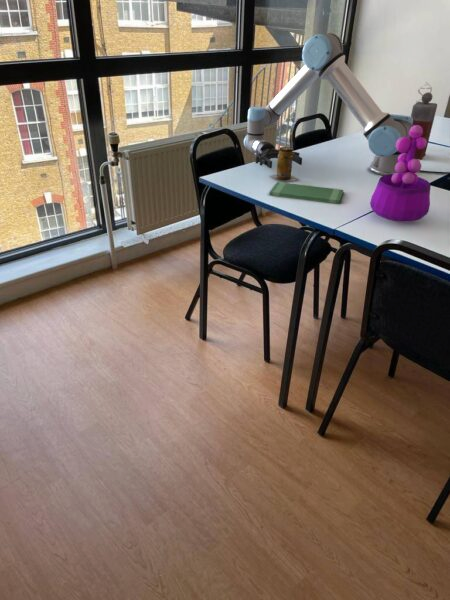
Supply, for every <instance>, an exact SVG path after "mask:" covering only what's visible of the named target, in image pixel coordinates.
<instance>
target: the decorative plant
mask: <svg viewBox="0 0 450 600" xmlns="http://www.w3.org/2000/svg"><path fill="white" fill-rule="evenodd" d="M422 130H423V129H422V127H421V126H419V125H414V126H413V127H412V128H411V129H410V130H409V134H410V136H411V137H412V138H413V141H412V143H411V140H410V138H408V137H402V138H399V139H398V140H397V142H396V149H397V150H398V151H399V152H401V153H402V154H400V155H399V157H398V163H397V164H396V166H395V171H396V172H397V173H396V174H388V175H384V176H383V175H381V177H379V179H378V180H377V184H376V187H375V189H374V190H373V193H372V194H371V197H370V201H369V206H370V208H371V209H372V211H373V212H374V213H375V215H377V216H379V217H381V218H383V219H386V220H389V221H394V222H399V223H401V222H403V223H405V222H415V221H419V220H421V219H423V218H424V217H425V216H427V215H428V213H429V212H430V206H431V183H430V181H428V180H427V179H425V178H423V177H421V176H418V173H419V172H418V171H420V170H422V163H421V160H418V159H414V154H415V146H416V148H417V149H423V148H424V147H425V146H426V144H427V141H426V139H425V138H421V137H420V136H421V135H422V133H423V131H422ZM418 137H420V138H418ZM416 138H418V139H417V140H416ZM407 151H408V154H407V153H404V152H407ZM401 173H403V174H401Z"/></svg>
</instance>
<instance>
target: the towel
mask: <svg viewBox="0 0 450 600" xmlns="http://www.w3.org/2000/svg"><path fill="white" fill-rule="evenodd" d="M343 195H344V189H340V188H333V187H332V188H331V187H323V186H314V185H306V184H298V183H297V184H296V183H289V182H282V181H277V182H276V183H275V184H274V186H273V187H272V188H271V190H270V191H269V196H276V197H284V198H293V199H299V200H300V199H301V200H307V201H308V200H309V201H315V202H322V203H323V202H324V203H332V204H338V205H339V204H340V203H341V200H342V197H343Z"/></svg>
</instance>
